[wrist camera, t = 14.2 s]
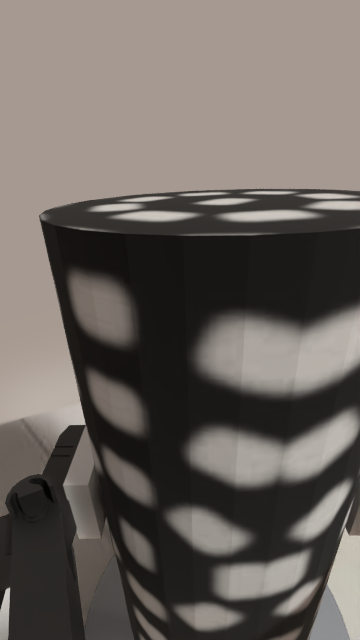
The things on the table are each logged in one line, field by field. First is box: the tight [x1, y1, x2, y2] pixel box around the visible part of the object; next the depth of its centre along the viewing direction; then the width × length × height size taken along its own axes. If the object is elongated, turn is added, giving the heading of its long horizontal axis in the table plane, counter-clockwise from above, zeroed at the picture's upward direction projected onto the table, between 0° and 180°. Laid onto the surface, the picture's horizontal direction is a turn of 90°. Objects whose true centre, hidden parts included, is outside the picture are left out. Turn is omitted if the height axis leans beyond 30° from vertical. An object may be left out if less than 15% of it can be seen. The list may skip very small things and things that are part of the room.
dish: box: [84, 554, 350, 640], centre depth 17 cm, size 14×14×2 cm
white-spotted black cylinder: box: [39, 189, 360, 640], centre depth 12 cm, size 8×8×20 cm
